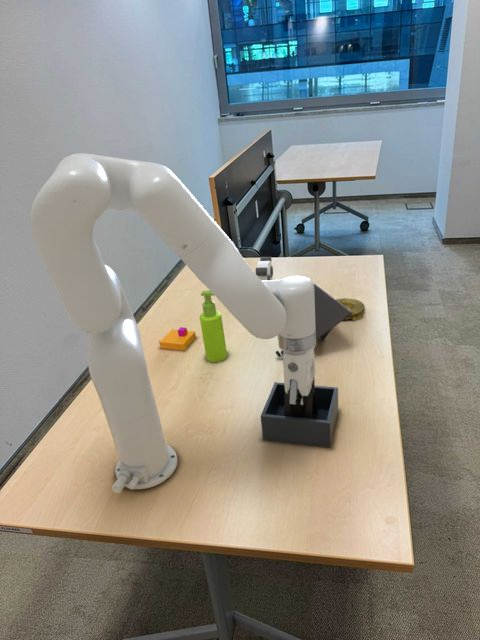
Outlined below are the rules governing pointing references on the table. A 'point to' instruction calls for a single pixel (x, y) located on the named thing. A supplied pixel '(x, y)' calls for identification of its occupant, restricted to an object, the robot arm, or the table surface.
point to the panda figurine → (264, 269)
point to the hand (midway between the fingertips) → (300, 410)
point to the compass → (353, 307)
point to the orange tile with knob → (178, 339)
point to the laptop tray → (325, 314)
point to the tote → (300, 419)
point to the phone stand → (308, 400)
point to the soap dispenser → (212, 330)
